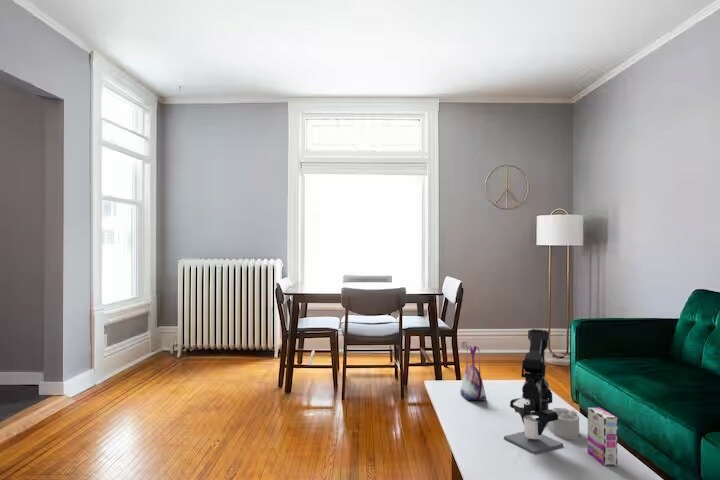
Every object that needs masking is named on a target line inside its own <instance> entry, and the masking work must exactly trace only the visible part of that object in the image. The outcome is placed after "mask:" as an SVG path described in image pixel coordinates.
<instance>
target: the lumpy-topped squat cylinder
mask: <svg viewBox="0 0 720 480" xmlns="http://www.w3.org/2000/svg"><path fill="white" fill-rule="evenodd" d="M550 410H552V411H555V412H557V414H558V420H555V421H551V422H548V423H547V426H548V427H547V429H548V431H549V432H550V433H552V435H554V436H556V437H559V438H562V439H567V440H576V439H578V438H579V437H580V417H579V415H578V413H577V412H576V411H575V410H569V409H568V408H566V407H561V408H560V407H555V408H551V409H550ZM578 436H579V437H578ZM575 438H576V439H575Z"/></svg>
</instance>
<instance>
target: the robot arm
mask: <svg viewBox="0 0 720 480" xmlns="http://www.w3.org/2000/svg"><path fill="white" fill-rule="evenodd" d="M550 338H551V333H550V331H548V330H547V329H538V328H537V329H535V328H532V329H529V330H528V331H527V339H528V341H529V344H530V345H529V349H528V350H529V351H528V352H527V353H525V355H524V359H522V365H521V366H522V367H521V377H520V378H525V379H524V383H523V385H522V388H521V390H522V391H521V392H522V396H521V397H518V398H514V399H511V400H510V402H509V407H510V408H512V409H514V412H515V413H517V414H519V415H520V417H521V421H522V423H523V425H524V416H525V415H536V416H539V418H535V419H536V420H537V422H538V435H541V434H543V432H544V430H545V428H546V427H547V426H548V422H551V421H555V420H558V414H557V412H555V411H552V410H551V409H549V405H550V404H552V403H553V393H552V390H551V389H550V384H549V382H548V381H547V379H546V370H547V369H546V368H547V365H546V362H545V361H546V356H545V355H546V353H545V351H546V349H547V348H548V345H549V342H550V340H551V339H550Z"/></svg>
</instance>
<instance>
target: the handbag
mask: <svg viewBox="0 0 720 480" xmlns="http://www.w3.org/2000/svg"><path fill="white" fill-rule="evenodd" d="M468 350H469V351H470V355H471V359H472V360H471V361H472V362H471V363H472V364H469V365H468V363H469V362H468V360H469V359H468V355H469V354H468ZM477 350H478V352H480V348H479V347H478V346H477V345H474V346H472V345H469V346H468V347H467V349H466V353H467V354H466V355H467V356H466V357H467V358H466V368H465V370H464V373H463V376H462V381H461V386H460V391H459V392H460V395H461V396H462V397H463V398H464V399H465V400H466V401H473V400H479V401H482V400H483V401H486V400H487V395H486V391H485V387H484V383H483V378H482V376H481V364H480V363H481V360H480V357H479V358H478V361H479V362H478V368H477V367H476V366H475V365H476V364H475V363H476V362H475V354H476V351H477Z"/></svg>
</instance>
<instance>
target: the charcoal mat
mask: <svg viewBox="0 0 720 480" xmlns="http://www.w3.org/2000/svg"><path fill="white" fill-rule="evenodd" d="M503 440H505V441H506V442H509V443H511V444H514V445H515V446H517V447H519V448H521V449H523V450H525V451H527V452H528V453H529V452H530V453H531V454H533V455H535V454H539V453H544V452H547V451H550V450H554V449H558V448H559V449H560V448H561V447H564V443H563V442H561V441H558V440H557V439H554V438H552V437H549V436H548V435H546V434H545V435H544V433H542V434H541V438H540V439H530V438H528V437H526V436H525V430H524V431H521V432H516V433H513V434H507V435H504V436H503Z"/></svg>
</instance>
